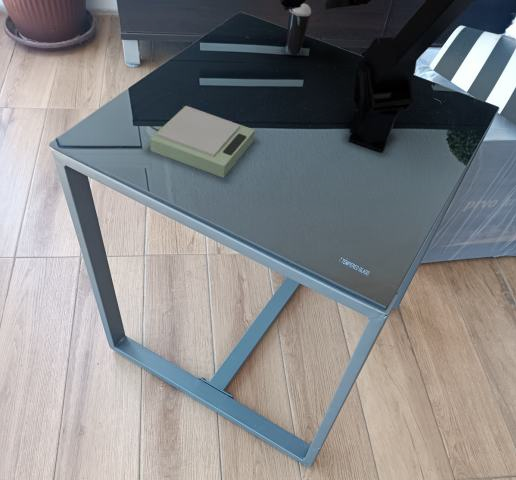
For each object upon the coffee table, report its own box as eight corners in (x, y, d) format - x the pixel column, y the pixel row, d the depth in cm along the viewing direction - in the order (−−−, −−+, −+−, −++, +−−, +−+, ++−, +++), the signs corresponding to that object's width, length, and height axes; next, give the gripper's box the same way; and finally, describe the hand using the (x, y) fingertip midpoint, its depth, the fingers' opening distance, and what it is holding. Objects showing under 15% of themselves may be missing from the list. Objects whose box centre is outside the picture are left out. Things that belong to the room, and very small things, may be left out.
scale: (253, 141, 84) (255, 126, 82) (223, 178, 77) (224, 162, 75) (185, 117, 86) (185, 101, 84) (150, 151, 79) (149, 134, 77)
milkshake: (275, 49, 106) (283, -4, 98) (294, 45, 108) (303, -7, 100) (288, 59, 104) (297, 5, 96) (307, 55, 107) (317, 2, 99)
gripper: (387, -93, 84) (340, -40, 99) (290, -97, 78) (254, -40, 92) (396, -20, 87) (348, 22, 101) (302, -19, 81) (265, 25, 95)
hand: (305, 6), depth 97 cm, fingers open, 9 cm apart
